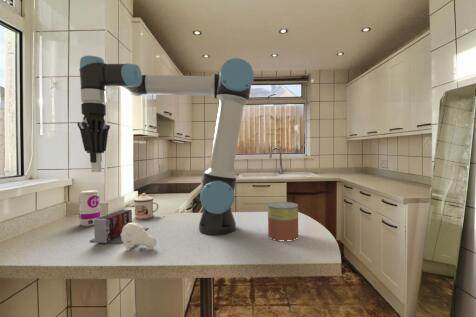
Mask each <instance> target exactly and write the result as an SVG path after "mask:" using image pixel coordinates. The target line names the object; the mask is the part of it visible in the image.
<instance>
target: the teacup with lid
mask: <svg viewBox="0 0 476 317" xmlns="http://www.w3.org/2000/svg"><path fill="white" fill-rule="evenodd" d="M146 194H147V193H146V192H143V193H141V195H140V196H137V197H135V198H134V200H133V202H134V218H135V219H139V220H142V219H150V218H152V217H153V216H154V213H155V212H157V211H158V210H159V207H160V205H159V203H158V202H156V201H154V198H153V197H152V196H149V195H146ZM154 205H156V208H155V210H154Z"/></svg>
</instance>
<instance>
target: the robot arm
mask: <svg viewBox="0 0 476 317" xmlns="http://www.w3.org/2000/svg"><path fill="white" fill-rule="evenodd" d="M78 71H79V77H80V96H81V97H80V100H81V114H82V115H83V118H82V120H81V121H80V122H79V121H78V122H77V127H78V128H79V131H80V136H81V141H82V146H83V150H84V152H86V153H87V154H89V161H90V166H91V167H90V168H91V173H102V161H103V160H102V154H104V153H105V152H106V151H107V144H108V137H109V130H110V128H111V126H110V125H109V124H106V120H105V116H106V115H107V105H106V103H107V95H106V93H107V92H106V87H118V88H119V87H120V88H122V89H123V90H125V91H126V92H127V93H128V94H130V95H132V96H135V97H141V96H143V95H159V96H161V95H163V96H165V95H169V96H204V97H206V96H207V97H212V99H217V100H218V101H219V106H218V112H217V118H216V123H215V124H216V125H215V130H214V131H215V132H214V136H213V137H214V138H213V144H212V150H211V156H210V162H209V168H208V169H207V170H205V171H204V172H203V175H202V177H201V178H202V179H201V183H202V185H201V191H200V193H199V200H200V201H199V202H200V203H201V205H202V213H201V217H200V220H199V223H198V230H199V233H201V234H204V235H212V236H213V235H214V236H215V235H227V234H229V233H233V232H234V231H235V230H236V228H237V227H236V226H237V225H236V224H237V223H236V220H235V218H234V214H233V211H232V206H233V205H234V202H235V198H236V197H235V189H236V187H235V186H236V181H237V175H236V174H235V173H234V167H235V162H236V161H235V160H236V155H237V148H238V142H239V135H240V130H241V123H242V117H243V110H244V107H245V105H247V104H248V103H249V100H250V94H251V88H252V84H253V83H254V79H255V74H254V69H253V67H252V66H251V64H250V63H249V62H248V61H247V60H245V59H244V58H243V59H242V58H239V57H233V58H230V59H227V60H226V61H224V63H223V64H222V65H221V67H220V70H219V73H213V74H212V75H210V76H208V75H207V76H205V75H201V76H200V75H172V74H171V75H170V74H169V75H168V74H167V75H166V74H143V73H142V70H141V68H140V65H139V64H134V63H105V61H104V59H103V58H102V57H99V56H95V55H94V56H93V55H83V56H82V57H81V58H80V60H79V69H78ZM232 231H233V232H232Z"/></svg>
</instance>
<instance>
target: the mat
mask: <svg viewBox="0 0 476 317" xmlns="http://www.w3.org/2000/svg"><path fill="white" fill-rule="evenodd" d="M142 227H143V226H142ZM143 228H144V230H145V231H146V232H147V230H149V227H143ZM89 242H91V243H96V242H95V237H94V238H92V239H90V240H89ZM106 244H121V245H122V244H124V242H123V241H122V238H121V236H119V237H117V238H115V239H113V240H111V241H109V242H107V243H106Z"/></svg>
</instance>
